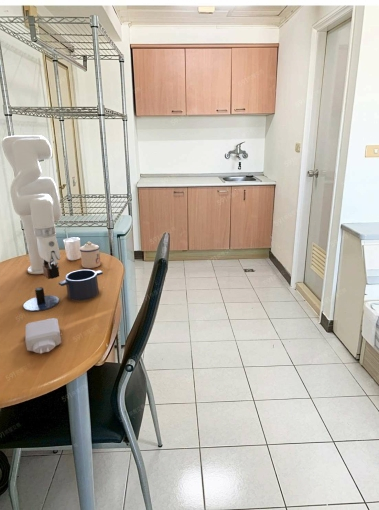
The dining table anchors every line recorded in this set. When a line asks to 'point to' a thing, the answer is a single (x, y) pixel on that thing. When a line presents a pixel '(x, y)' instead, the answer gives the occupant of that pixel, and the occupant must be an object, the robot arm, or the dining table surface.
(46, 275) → the block
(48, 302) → the pot lid
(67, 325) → the dining table surface
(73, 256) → the white cup
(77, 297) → the pot
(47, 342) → the charger
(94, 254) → the teacup with lid
